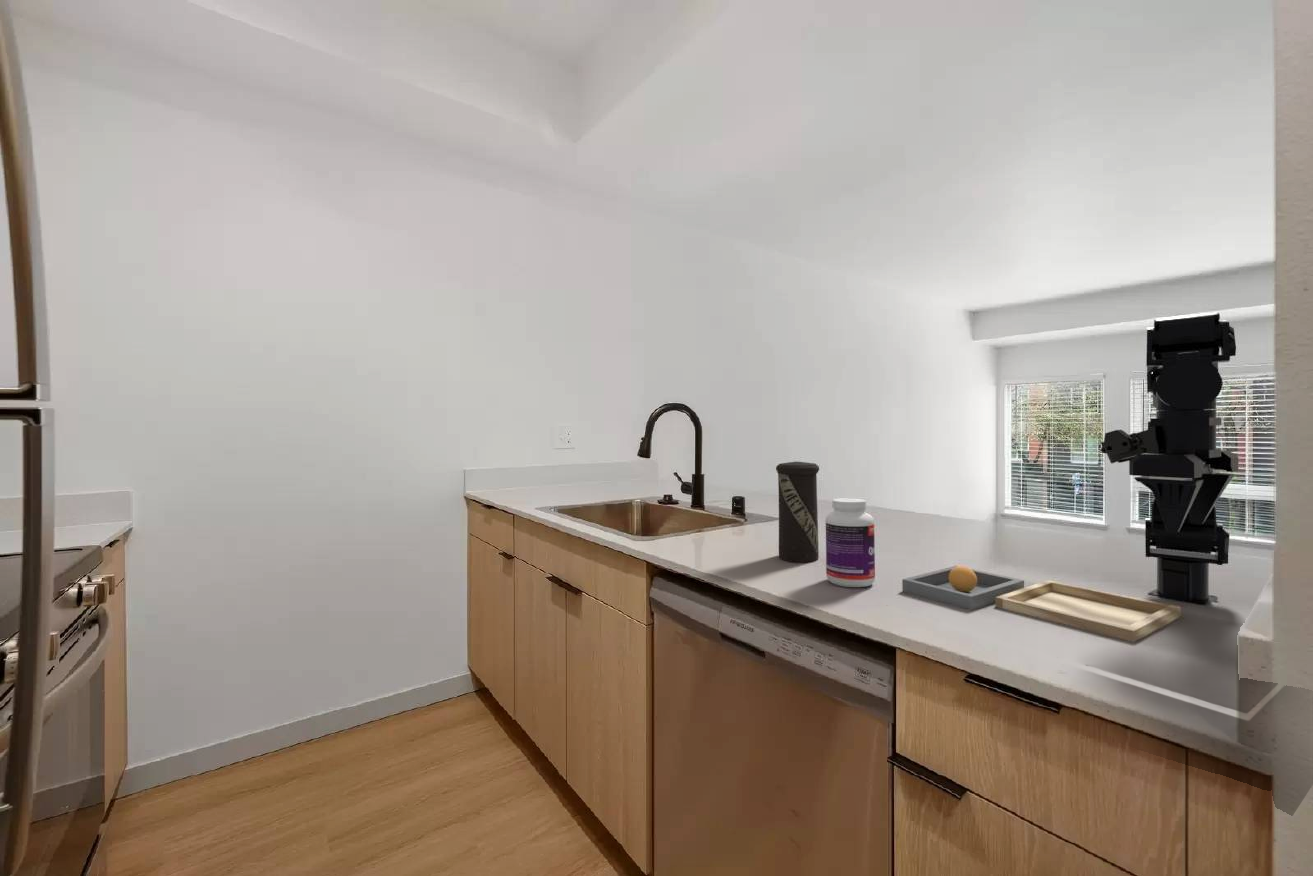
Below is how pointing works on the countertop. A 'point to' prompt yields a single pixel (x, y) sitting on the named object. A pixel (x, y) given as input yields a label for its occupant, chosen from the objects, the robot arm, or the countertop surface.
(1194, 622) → the countertop surface
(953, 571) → the ball
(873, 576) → the pill bottle
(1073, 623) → the dish
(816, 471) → the container
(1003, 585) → the tray
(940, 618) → the countertop surface
